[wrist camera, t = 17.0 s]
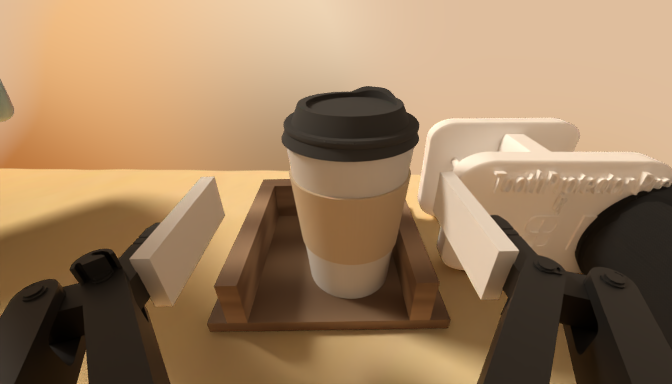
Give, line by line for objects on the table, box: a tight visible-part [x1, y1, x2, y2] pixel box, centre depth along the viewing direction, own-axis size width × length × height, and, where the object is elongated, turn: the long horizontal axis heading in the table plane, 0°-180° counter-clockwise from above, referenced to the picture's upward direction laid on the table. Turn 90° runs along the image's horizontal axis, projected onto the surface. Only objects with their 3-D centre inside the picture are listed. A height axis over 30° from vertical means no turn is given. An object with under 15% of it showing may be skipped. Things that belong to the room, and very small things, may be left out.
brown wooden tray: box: [207, 179, 450, 332], centre depth 27 cm, size 16×18×5 cm
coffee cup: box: [282, 86, 419, 299], centre depth 21 cm, size 9×9×15 cm
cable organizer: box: [418, 118, 672, 273], centre depth 26 cm, size 15×11×12 cm
